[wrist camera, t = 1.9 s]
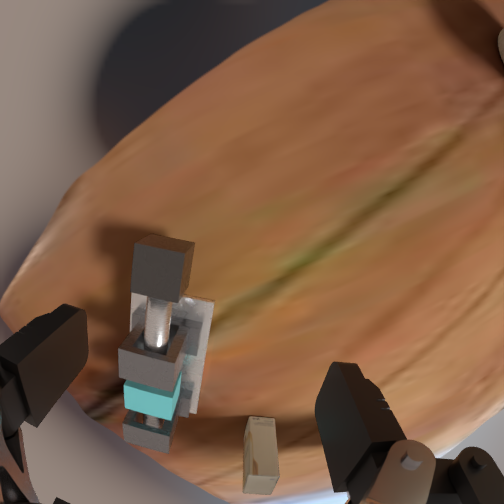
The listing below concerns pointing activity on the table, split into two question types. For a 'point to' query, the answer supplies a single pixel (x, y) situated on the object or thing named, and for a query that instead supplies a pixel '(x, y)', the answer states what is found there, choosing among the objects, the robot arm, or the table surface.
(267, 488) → the skincare box
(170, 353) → the bearing stand
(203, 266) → the table surface
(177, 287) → the shaft
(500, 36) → the canister
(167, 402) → the spacer
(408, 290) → the table surface
